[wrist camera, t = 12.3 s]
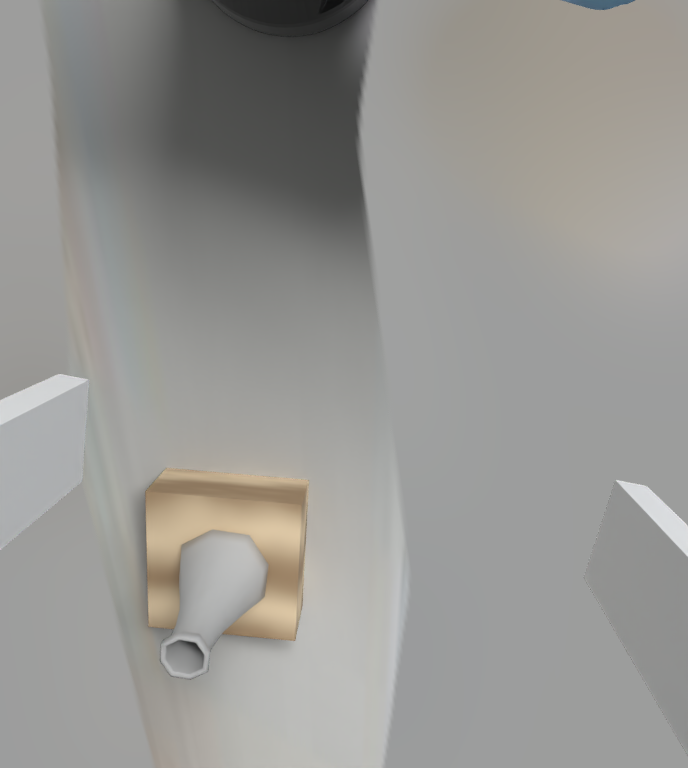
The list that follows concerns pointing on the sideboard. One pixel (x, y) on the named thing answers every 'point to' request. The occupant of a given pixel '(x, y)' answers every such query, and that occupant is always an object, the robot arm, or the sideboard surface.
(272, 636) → the oak block
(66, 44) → the sideboard surface
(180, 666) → the flask
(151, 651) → the sideboard surface
